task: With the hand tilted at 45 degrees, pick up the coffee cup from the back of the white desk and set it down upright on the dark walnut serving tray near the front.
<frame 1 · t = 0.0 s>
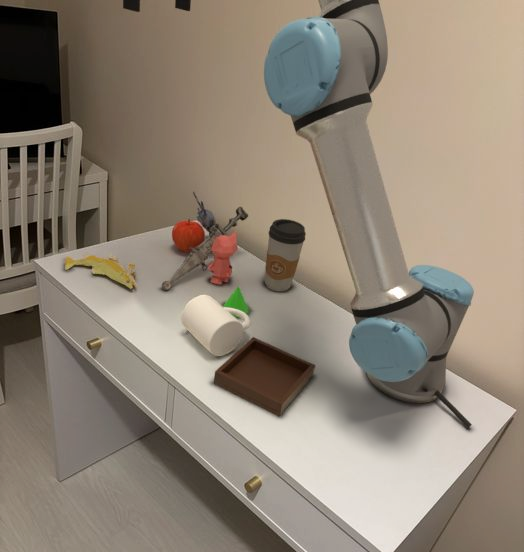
hand: (158, 10, 91), 52 cm above the table, tool pointing down, fingers open, 13 cm apart
toy: (120, 259, 124), point 2 cm above the table
mug: (218, 339, 109), on the table
green pyramid: (235, 310, 119), on the table
toy 2: (225, 249, 134), point 3 cm above the table, touching apple, decorative dagger
decorative dagger: (162, 289, 120), on the table, touching toy 2
apple: (187, 249, 137), on the table, touching toy 2
coffee cup: (277, 285, 130), on the table
cat figurine: (220, 281, 127), on the table
serving tray: (264, 379, 101), on the table
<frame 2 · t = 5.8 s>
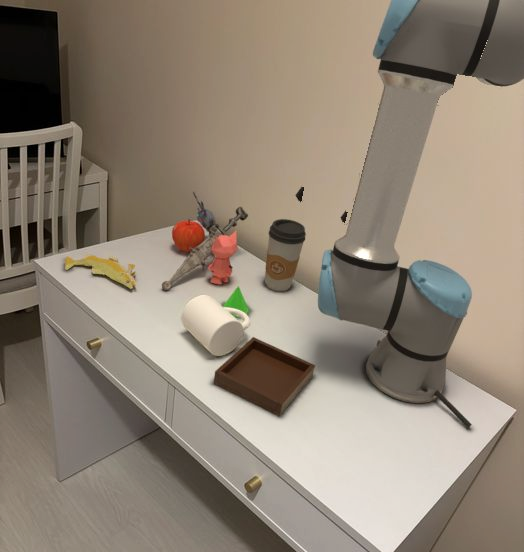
hand: (320, 210, 127), 17 cm above the table, tool tilted 45°, fingers open, 13 cm apart
nothing on the table moved.
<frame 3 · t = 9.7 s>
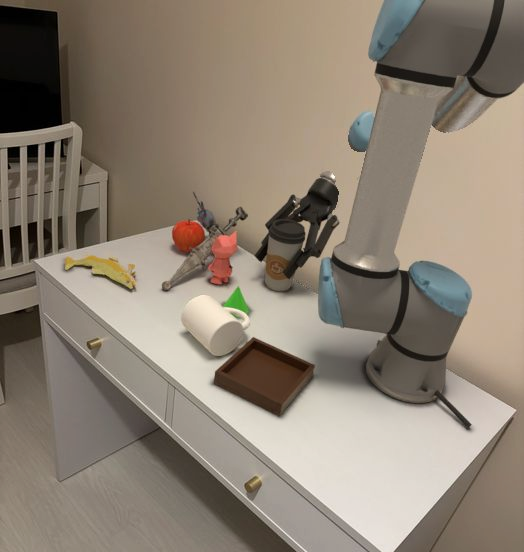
hand: (271, 267, 124), 6 cm above the table, tool tilted 45°, fingers closed on coffee cup, 8 cm apart
coffee cup: (277, 285, 130), on the table, touching gripper
everything else where it was.
when the fingers open (6 cm above the table, at t = 22.9 s): coffee cup stays where it is, resting on serving tray.
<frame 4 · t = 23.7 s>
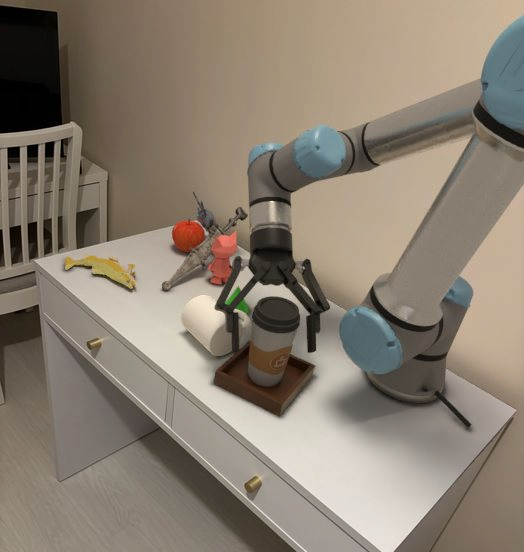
hand: (274, 352, 94), 8 cm above the table, tool tilted 45°, fingers open, 13 cm apart
coffee cup: (264, 376, 101), point 1 cm above the table, touching serving tray
everything else where it was.
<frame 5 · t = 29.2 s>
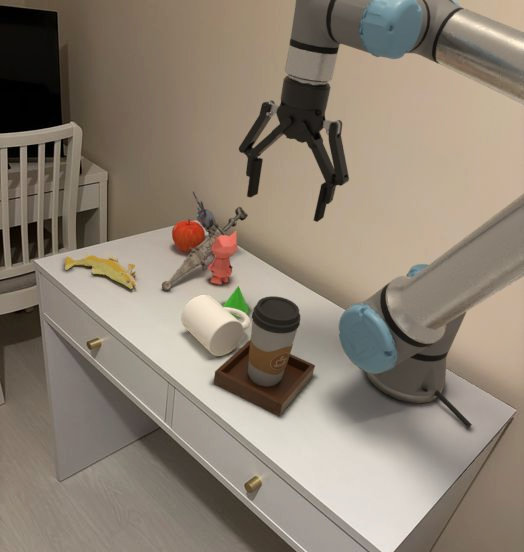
hand: (284, 207, 99), 27 cm above the table, tool pointing down, fingers open, 13 cm apart
nothing on the table moved.
at the end: coffee cup inside the target area in the serving tray (0.1 cm from its centre), point 0.6 cm above the serving tray's base; coffee cup tilted 0°; the gripper is holding nothing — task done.
